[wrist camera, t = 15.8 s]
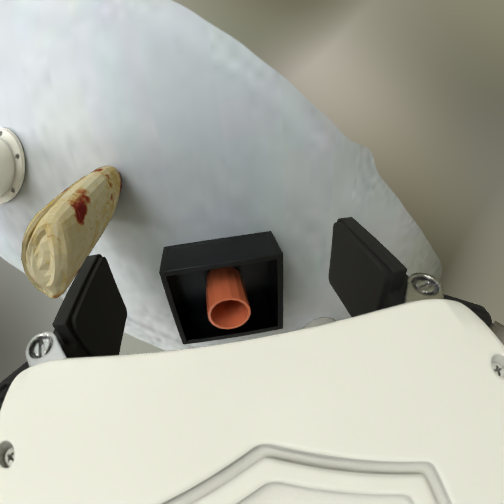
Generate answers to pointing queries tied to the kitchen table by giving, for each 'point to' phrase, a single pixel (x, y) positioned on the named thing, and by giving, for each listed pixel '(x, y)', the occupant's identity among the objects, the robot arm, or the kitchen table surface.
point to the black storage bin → (220, 256)
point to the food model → (69, 230)
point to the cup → (226, 298)
